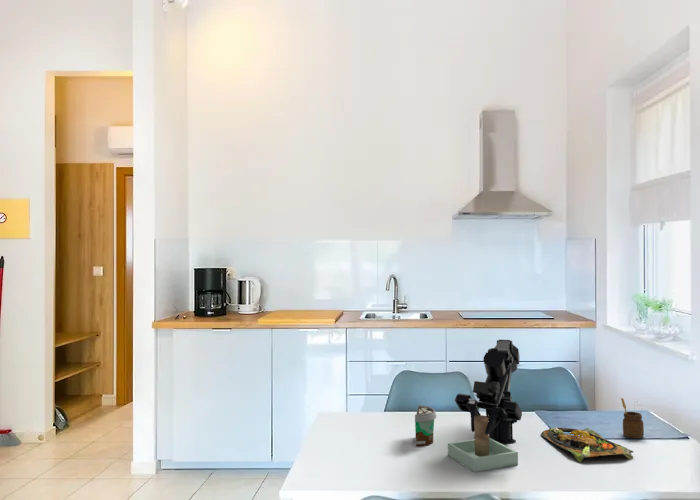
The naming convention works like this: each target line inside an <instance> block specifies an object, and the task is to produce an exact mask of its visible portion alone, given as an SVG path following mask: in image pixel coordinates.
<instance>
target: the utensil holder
mask: <svg viewBox="0 0 700 500" xmlns="http://www.w3.org/2000/svg"><path fill="white" fill-rule="evenodd" d="M620 400H621V404H622V407H623V409H624V411H625V412H623V417H624V418H623V419H622V434H623V436H625V437H626V438H631V439H642V438H644V435H645V434H644V433H645V432H644V430H645V429H644V427H645V426H644V421H643V415H642V414H641V412H640V411H642V410H643V408H641V407H642V403H641V401H639V400H637V401H635V402H634V407H633V408H634V409H633V411H627V409H626V408H627V406H626V402H625V400H624V398H623V397H620ZM638 404H639V408H638V409H640V410H638V409H635V406H638ZM637 410H638V411H637Z"/></svg>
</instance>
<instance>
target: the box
mask: <svg viewBox="0 0 700 500" xmlns="http://www.w3.org/2000/svg"><path fill="white" fill-rule="evenodd" d="M518 453H519V452H518V451H517V450H514V449H512V448H510V447H508V446H507V445H505V444H501V443H499V442H497V441H495V440H493V439H491V438H489V456H482V457H479V456H476V455H475V439H469V440H468V439H467V440H461V441H453V442H448V443H447V456H449V458H452V459H453V460H455V461H456V462H457V463H459V464H461V465H462V466H464V467H466V468H467V469H469V470H470V471H471V472H473V473H478V472H482V471H484V472H485V471H489V470H496V469H501V468H506V467H513V466H519V456H518V455H519V454H518Z"/></svg>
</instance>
